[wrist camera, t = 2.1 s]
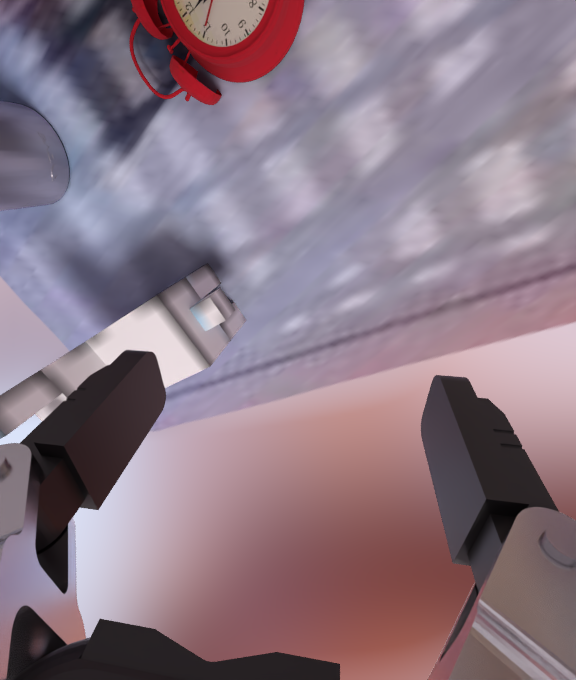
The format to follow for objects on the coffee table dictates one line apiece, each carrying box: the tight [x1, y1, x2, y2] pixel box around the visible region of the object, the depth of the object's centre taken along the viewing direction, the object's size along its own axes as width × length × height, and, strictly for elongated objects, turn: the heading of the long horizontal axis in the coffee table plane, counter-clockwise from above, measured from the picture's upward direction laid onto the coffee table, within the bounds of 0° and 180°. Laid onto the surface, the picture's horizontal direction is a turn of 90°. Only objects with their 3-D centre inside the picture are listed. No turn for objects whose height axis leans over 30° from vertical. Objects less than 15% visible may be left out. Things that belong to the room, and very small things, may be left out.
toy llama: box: [0, 263, 246, 439], centre depth 31 cm, size 8×18×20 cm, turn 122°
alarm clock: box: [130, 0, 304, 105], centre depth 24 cm, size 10×6×15 cm
